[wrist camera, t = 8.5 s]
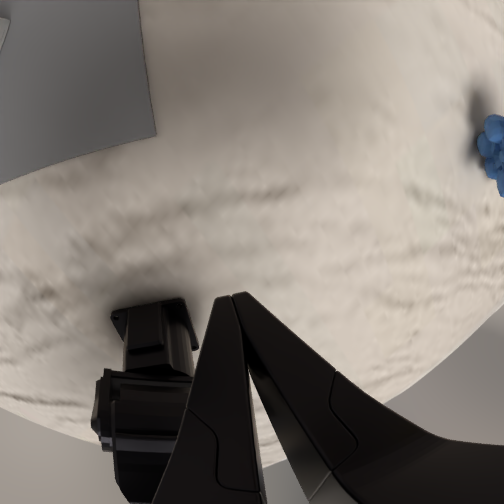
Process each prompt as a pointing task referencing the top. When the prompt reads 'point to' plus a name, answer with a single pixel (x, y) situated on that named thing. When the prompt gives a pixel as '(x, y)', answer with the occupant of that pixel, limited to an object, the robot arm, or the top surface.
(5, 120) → the rubber mat
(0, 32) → the skincare box
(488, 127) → the grapes
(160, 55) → the top surface
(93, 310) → the top surface
